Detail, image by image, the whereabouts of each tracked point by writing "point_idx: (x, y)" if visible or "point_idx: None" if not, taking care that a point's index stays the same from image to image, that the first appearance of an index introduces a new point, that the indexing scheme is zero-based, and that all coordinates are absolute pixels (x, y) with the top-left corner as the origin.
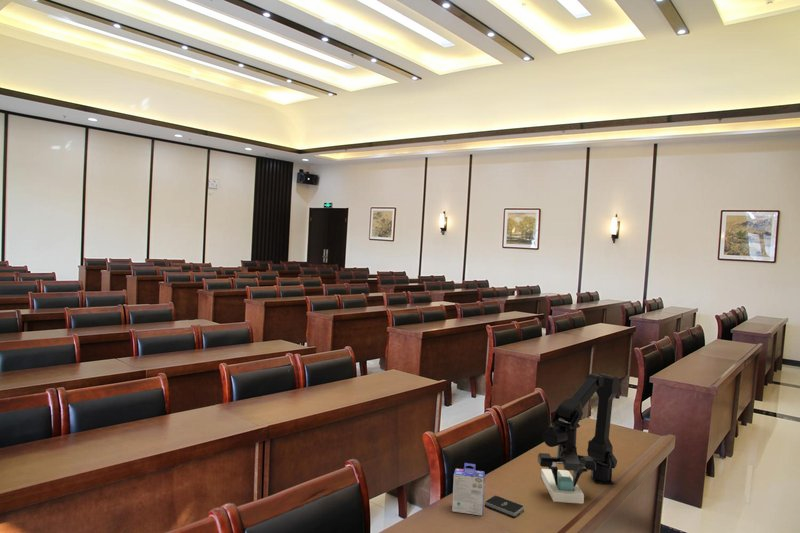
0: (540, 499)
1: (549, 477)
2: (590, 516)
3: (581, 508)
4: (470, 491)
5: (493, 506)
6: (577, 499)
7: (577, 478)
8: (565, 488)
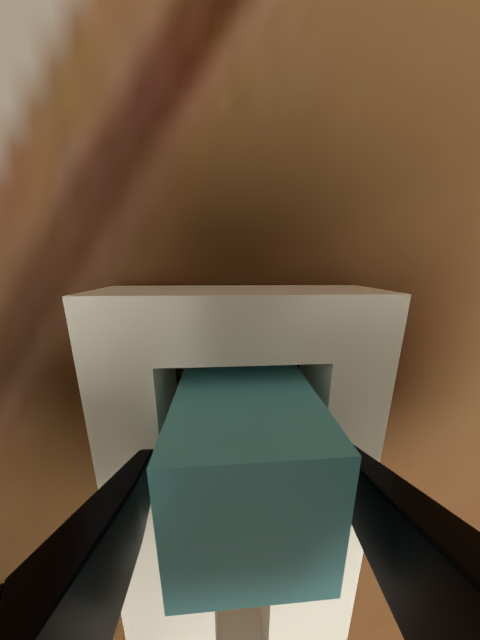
0: (439, 304)
1: None
2: (87, 8)
3: (148, 190)
4: None
5: None
6: (157, 289)
7: (25, 582)
8: (261, 392)
